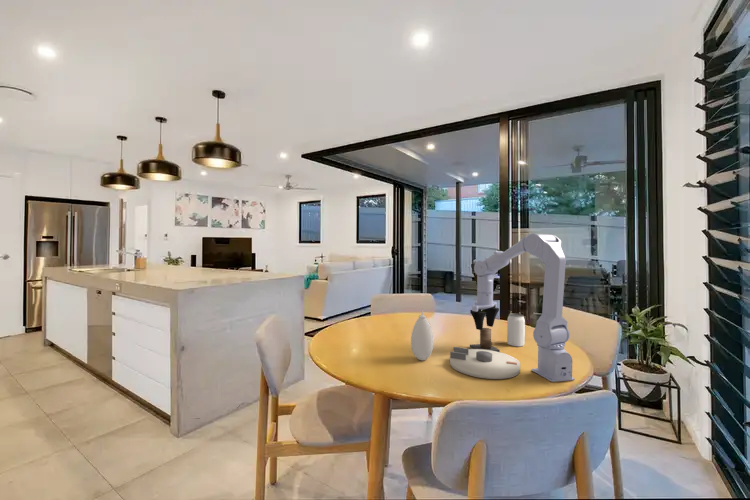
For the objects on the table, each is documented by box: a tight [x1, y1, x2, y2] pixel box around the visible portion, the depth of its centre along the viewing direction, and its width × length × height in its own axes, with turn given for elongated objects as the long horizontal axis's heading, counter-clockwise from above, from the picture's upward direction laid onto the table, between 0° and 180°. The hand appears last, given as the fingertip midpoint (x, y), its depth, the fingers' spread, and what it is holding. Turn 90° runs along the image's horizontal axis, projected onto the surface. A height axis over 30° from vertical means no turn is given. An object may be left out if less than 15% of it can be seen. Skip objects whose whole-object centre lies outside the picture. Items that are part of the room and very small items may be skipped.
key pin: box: [479, 327, 492, 349], centre depth 129 cm, size 4×4×7 cm
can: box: [506, 312, 526, 348], centre depth 137 cm, size 6×6×12 cm
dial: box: [449, 346, 521, 380], centre depth 113 cm, size 22×22×4 cm
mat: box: [469, 343, 501, 352], centre depth 130 cm, size 8×8×1 cm
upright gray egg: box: [410, 308, 435, 361], centre depth 119 cm, size 8×8×18 cm
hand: (484, 327), depth 130 cm, fingers open, 7 cm apart
